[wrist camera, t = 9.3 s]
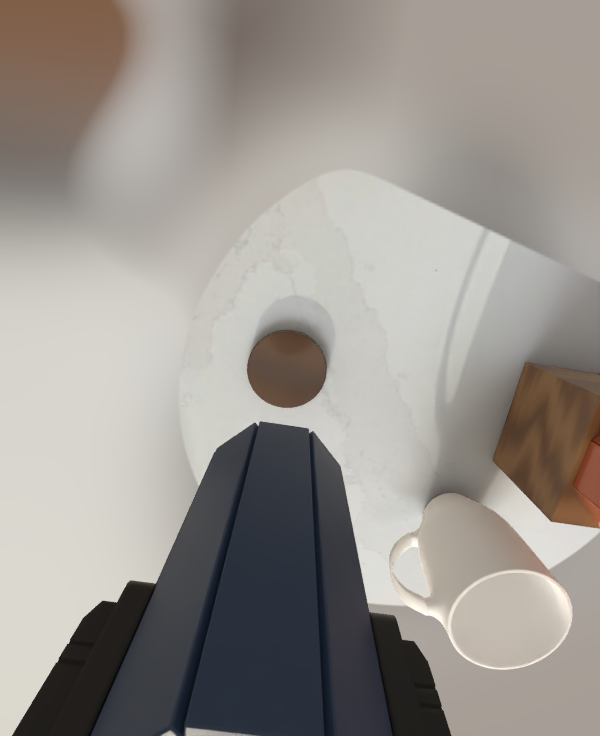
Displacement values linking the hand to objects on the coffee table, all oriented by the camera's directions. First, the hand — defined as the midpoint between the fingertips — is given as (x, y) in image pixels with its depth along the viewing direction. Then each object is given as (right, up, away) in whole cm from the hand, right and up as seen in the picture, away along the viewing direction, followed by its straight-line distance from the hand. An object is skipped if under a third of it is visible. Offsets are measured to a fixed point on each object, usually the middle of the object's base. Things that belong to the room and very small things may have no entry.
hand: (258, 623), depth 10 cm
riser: (+25, +2, +26) cm, 36 cm away
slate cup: (0, +2, +7) cm, 7 cm away
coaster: (0, +7, +24) cm, 25 cm away
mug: (+15, -8, +29) cm, 33 cm away
